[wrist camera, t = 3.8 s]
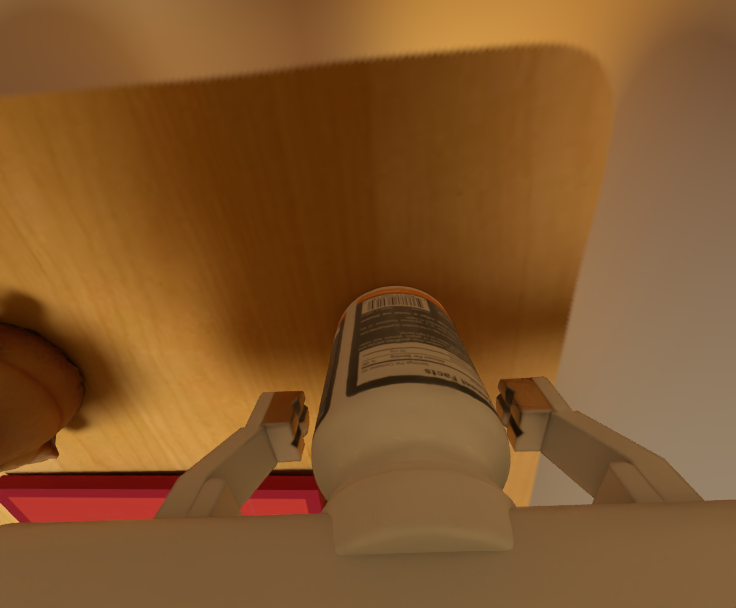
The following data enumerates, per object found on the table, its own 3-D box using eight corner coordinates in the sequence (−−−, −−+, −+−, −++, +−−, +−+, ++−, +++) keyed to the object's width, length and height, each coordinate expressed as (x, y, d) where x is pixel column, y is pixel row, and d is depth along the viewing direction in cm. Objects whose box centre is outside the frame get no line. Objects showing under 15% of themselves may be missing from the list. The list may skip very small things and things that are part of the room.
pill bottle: (402, 392, 17) (436, 665, 8) (315, 342, 15) (234, 607, 6) (475, 322, 14) (637, 589, 6) (382, 256, 13) (400, 474, 4)
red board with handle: (424, 579, 26) (432, 469, 20) (429, 624, 24) (441, 515, 17) (102, 573, 27) (10, 468, 21) (74, 615, 25) (-41, 511, 18)
